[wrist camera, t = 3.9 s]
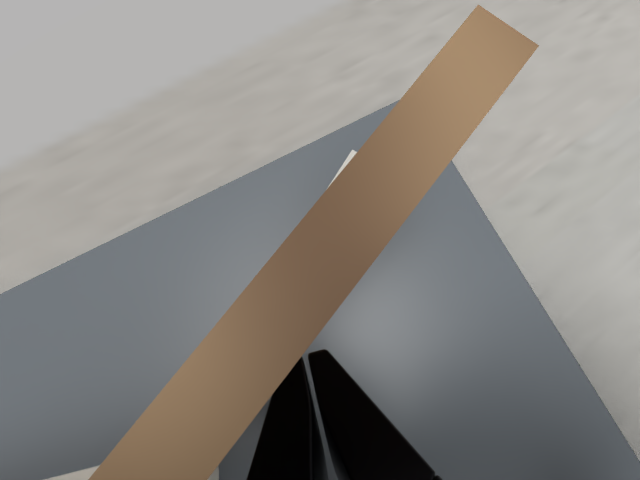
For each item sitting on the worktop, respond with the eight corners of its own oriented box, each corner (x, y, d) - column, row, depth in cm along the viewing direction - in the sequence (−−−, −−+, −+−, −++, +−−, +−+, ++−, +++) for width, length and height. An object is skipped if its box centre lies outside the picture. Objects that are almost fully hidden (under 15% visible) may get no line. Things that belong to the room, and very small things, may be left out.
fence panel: (211, 460, 14) (57, 675, 5) (182, 435, 14) (-15, 603, 5) (411, 200, 16) (539, 45, 7) (384, 179, 16) (478, 4, 7)
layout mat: (685, 546, 14) (699, 554, 14) (4, 1029, 11) (-10, 1061, 11) (408, 100, 17) (411, 93, 17) (-192, 392, 14) (-210, 394, 14)
